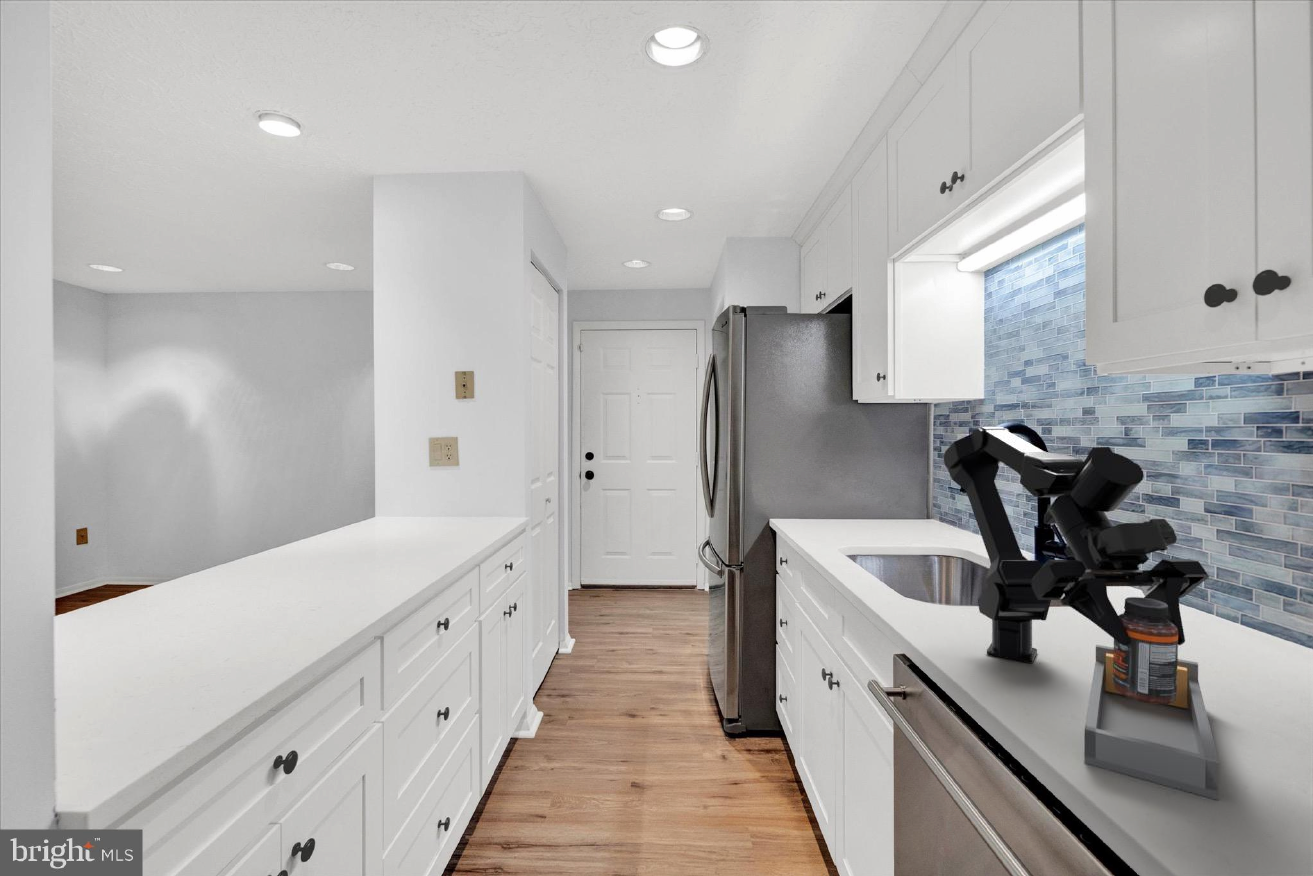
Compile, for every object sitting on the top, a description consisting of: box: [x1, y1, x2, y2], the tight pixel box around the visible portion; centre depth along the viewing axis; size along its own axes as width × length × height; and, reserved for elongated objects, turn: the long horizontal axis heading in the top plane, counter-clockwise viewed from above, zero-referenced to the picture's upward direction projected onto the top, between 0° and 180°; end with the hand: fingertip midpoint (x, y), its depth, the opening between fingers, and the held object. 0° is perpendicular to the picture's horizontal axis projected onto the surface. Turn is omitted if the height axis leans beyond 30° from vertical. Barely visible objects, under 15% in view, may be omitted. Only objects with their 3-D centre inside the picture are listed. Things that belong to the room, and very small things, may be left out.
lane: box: [1083, 644, 1220, 801], centre depth 74 cm, size 26×11×6 cm, turn 141°
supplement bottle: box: [1113, 596, 1179, 704], centre depth 71 cm, size 6×6×11 cm
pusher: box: [1106, 653, 1187, 708], centre depth 81 cm, size 4×8×5 cm, turn 51°
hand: (1154, 643), depth 70 cm, fingers closed on supplement bottle, 6 cm apart
